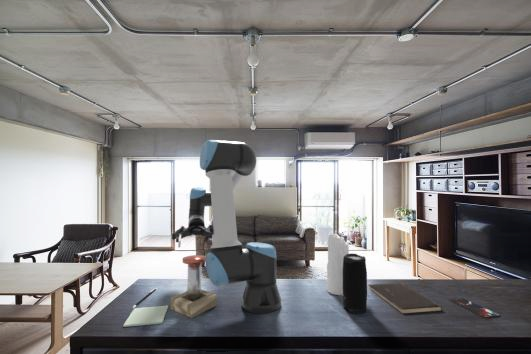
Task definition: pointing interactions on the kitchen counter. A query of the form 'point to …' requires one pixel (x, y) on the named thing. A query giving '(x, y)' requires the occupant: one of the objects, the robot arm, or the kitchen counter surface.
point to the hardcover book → (404, 298)
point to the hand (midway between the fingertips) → (197, 244)
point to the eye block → (193, 303)
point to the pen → (144, 297)
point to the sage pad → (146, 316)
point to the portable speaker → (354, 283)
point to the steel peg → (194, 276)
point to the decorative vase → (335, 263)
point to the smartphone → (474, 308)
